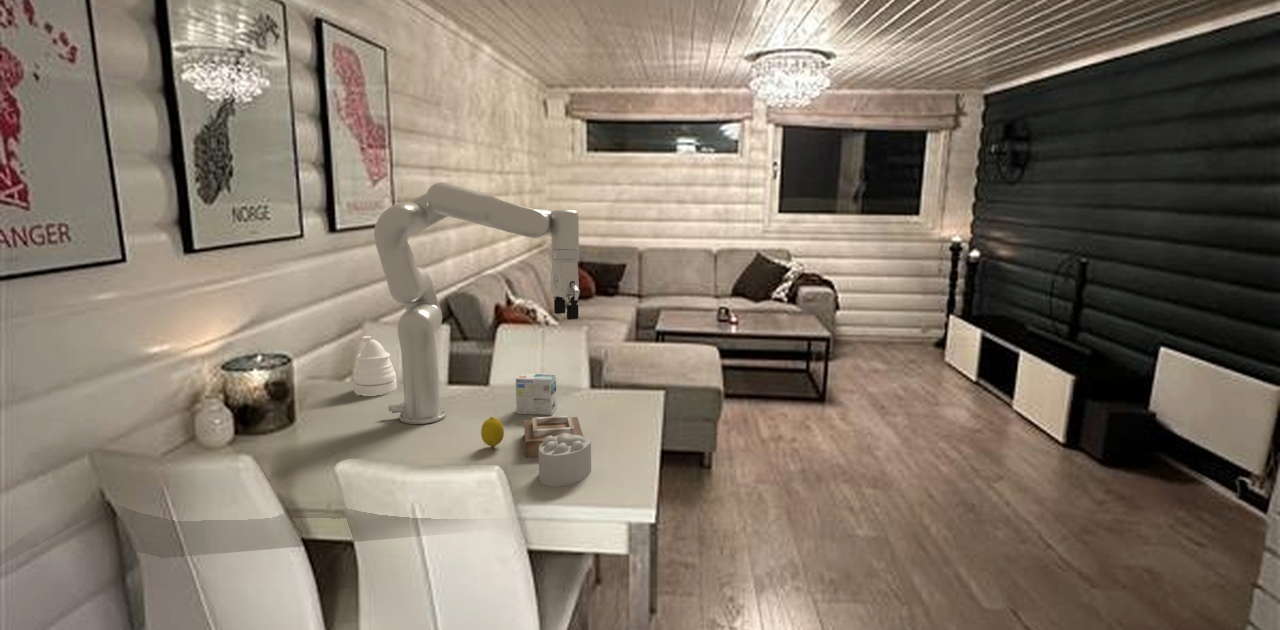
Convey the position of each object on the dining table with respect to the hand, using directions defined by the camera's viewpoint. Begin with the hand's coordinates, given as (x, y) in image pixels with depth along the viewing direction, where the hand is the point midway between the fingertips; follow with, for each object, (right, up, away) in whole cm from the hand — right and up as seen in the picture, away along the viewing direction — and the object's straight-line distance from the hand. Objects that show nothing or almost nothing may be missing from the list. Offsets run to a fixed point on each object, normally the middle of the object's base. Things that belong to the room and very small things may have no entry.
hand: (566, 316), depth 193 cm
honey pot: (-64, -24, +28) cm, 74 cm away
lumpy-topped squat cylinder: (+3, -36, -36) cm, 51 cm away
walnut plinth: (-1, -32, -17) cm, 37 cm away
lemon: (-16, -33, -20) cm, 42 cm away
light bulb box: (-9, -28, +8) cm, 31 cm away
